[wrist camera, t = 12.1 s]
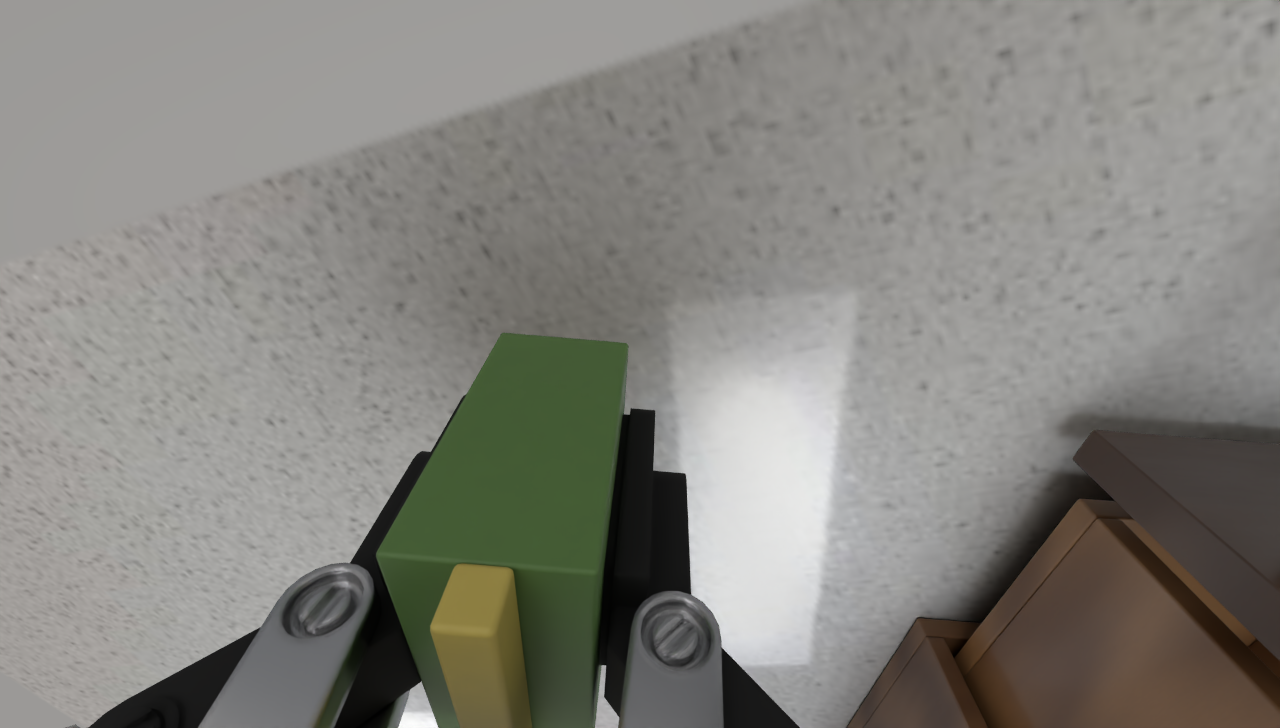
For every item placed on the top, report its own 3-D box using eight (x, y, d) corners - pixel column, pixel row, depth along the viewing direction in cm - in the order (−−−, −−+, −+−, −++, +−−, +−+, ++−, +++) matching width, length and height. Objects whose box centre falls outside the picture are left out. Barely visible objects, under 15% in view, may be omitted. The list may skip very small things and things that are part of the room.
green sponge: (519, 513, 13) (426, 807, 8) (500, 328, 10) (331, 621, 5) (616, 521, 13) (584, 821, 8) (629, 339, 10) (588, 644, 5)
